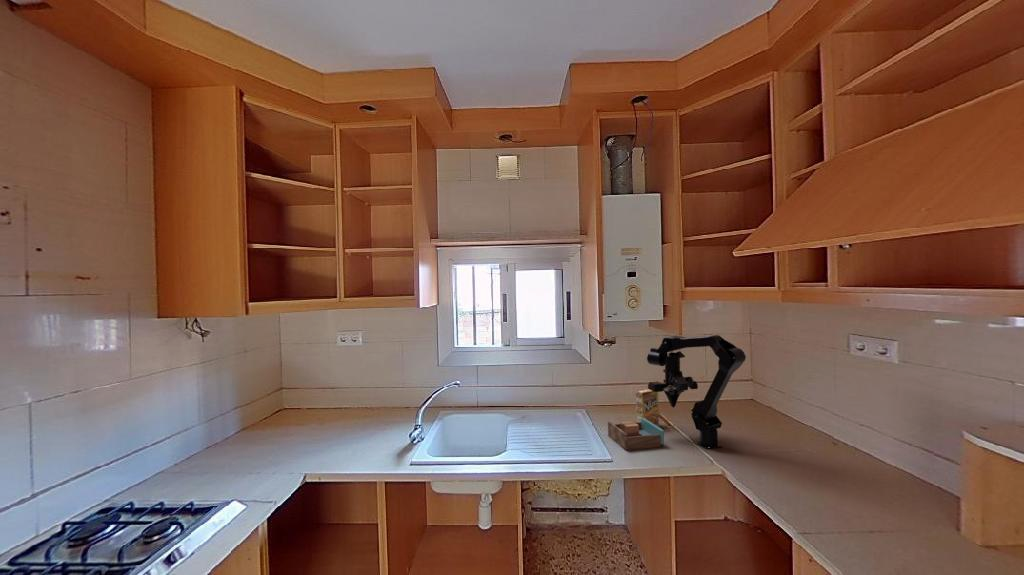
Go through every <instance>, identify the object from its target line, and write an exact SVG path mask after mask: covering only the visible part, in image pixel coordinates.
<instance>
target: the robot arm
mask: <svg viewBox="0 0 1024 575" xmlns="http://www.w3.org/2000/svg"><path fill="white" fill-rule="evenodd" d="M704 347H710V348H711V350H712V351H713V353H714V354H715V356H716V357H717V358H718V370H717V371H716V374H715V376H714V378H713V379H712V382H711V383H710V386H709V388H708V390H707V392H706V394H705V396H704V398H703V400H699V401H696V402H695V403H694V405H693V407H692V409H691V418H692V420H693V423H694V426H695V429H696V430H697V431H699V441H696V442H697V443H698V444H697V443H696V444H697V445H699V444H700V445H699V446H701V445H702V446H704V447H706V448H708V447H718V448H722V447H721V446H722V445H721V444H719V441H718V438H719V437H718V430H717V429H720V428H721V427H722V425H723V423H722V421H721V420H720V419H719V417H718V415H717V413H718V406H717V405H718V403H719V401H720V399H721V398H722V395H723V393H724V391H725V389H726V387H727V385H728V383H729V381H730V379H731V377H732V376H733V374H734V373H735V372H736V371H737V370H738V369H740V368H741V366H742V365H743V364H744V363H745V361H746V358H747V356H746V354H745V352H744V350H742V349H741V348H739V347H737V346H735V344H733V343H731V342H729V341H728V340H726V339H725V338H723V337H722V336H720V335H719V334H714V335H709V336H694V337H685V336H681V335H672V336H671V335H670V336H666V337H663V338H662V341H661V344H660V346H659V347H658V348H656V347H651V348H650V351H649V352H648V355H647V357H646V360H647V363H648V364H649V365H653V366H658V367H664V369H662V370H663V373H664V379H663V383H662V382H660V381H649V382H648V384H647V389H650V390H652V391H654V392H658V393H661V392H664V394H665V395H666V397H667V400H668V401H669V404H670V406H671V408H675V407H676V405H677V402H678V399H679V398H680V395H681V394H682V393H685V392H686V391H688V390H689V389H690V390H698V389H699V385H698V382H697V381H696V380H694V379H693V377H692V376H683V371H682V370H681V359H683V358H685V357H686V355H685V354H683V352H682V351H680V350H683V349H688V348H704ZM675 351H676V352H675ZM702 446H701V447H702ZM704 447H703V448H704ZM706 448H705V449H706ZM708 449H709V448H708Z"/></svg>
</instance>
